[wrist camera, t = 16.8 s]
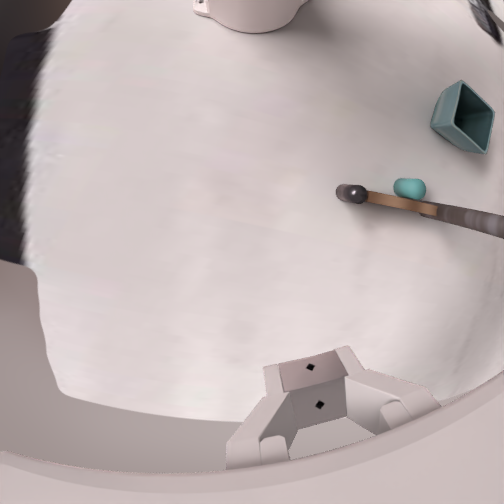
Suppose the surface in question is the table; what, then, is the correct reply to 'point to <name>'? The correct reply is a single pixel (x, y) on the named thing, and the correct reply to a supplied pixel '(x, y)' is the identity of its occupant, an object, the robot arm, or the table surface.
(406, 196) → the post
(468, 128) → the flower pot
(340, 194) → the hinge post
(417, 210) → the brown board with post
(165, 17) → the table surface
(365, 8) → the table surface
